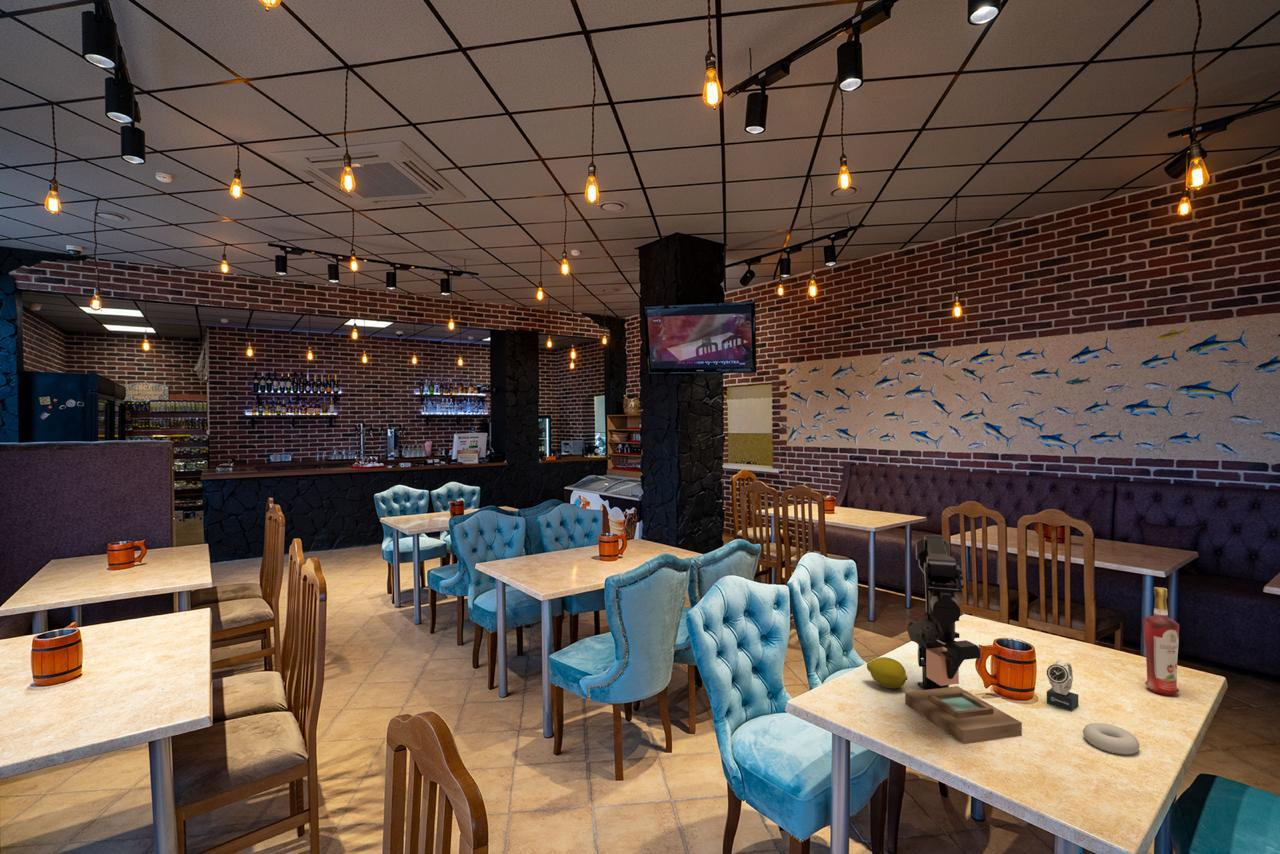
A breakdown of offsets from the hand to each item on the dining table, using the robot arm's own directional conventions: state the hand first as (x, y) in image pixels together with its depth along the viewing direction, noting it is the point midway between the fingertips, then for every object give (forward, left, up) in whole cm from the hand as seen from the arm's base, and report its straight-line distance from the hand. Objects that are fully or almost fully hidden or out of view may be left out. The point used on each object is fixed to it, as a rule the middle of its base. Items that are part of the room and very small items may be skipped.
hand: (942, 674), depth 143 cm
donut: (+18, +29, -12) cm, 36 cm away
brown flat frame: (0, +5, -12) cm, 13 cm away
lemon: (-20, -1, -12) cm, 24 cm away
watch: (0, +36, -12) cm, 38 cm away
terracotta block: (0, 0, -2) cm, 2 cm away
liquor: (0, +69, -12) cm, 70 cm away
